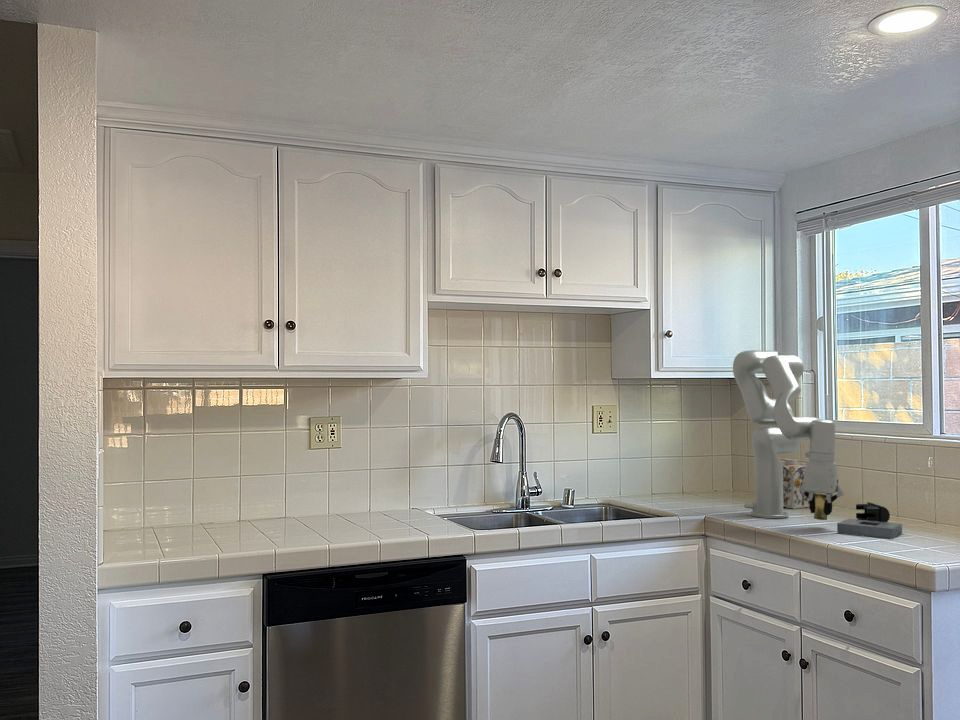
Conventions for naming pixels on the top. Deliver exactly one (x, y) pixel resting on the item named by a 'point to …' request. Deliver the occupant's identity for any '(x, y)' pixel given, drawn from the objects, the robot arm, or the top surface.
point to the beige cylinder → (820, 506)
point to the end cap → (872, 512)
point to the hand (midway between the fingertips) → (820, 512)
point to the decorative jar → (793, 485)
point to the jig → (869, 528)
